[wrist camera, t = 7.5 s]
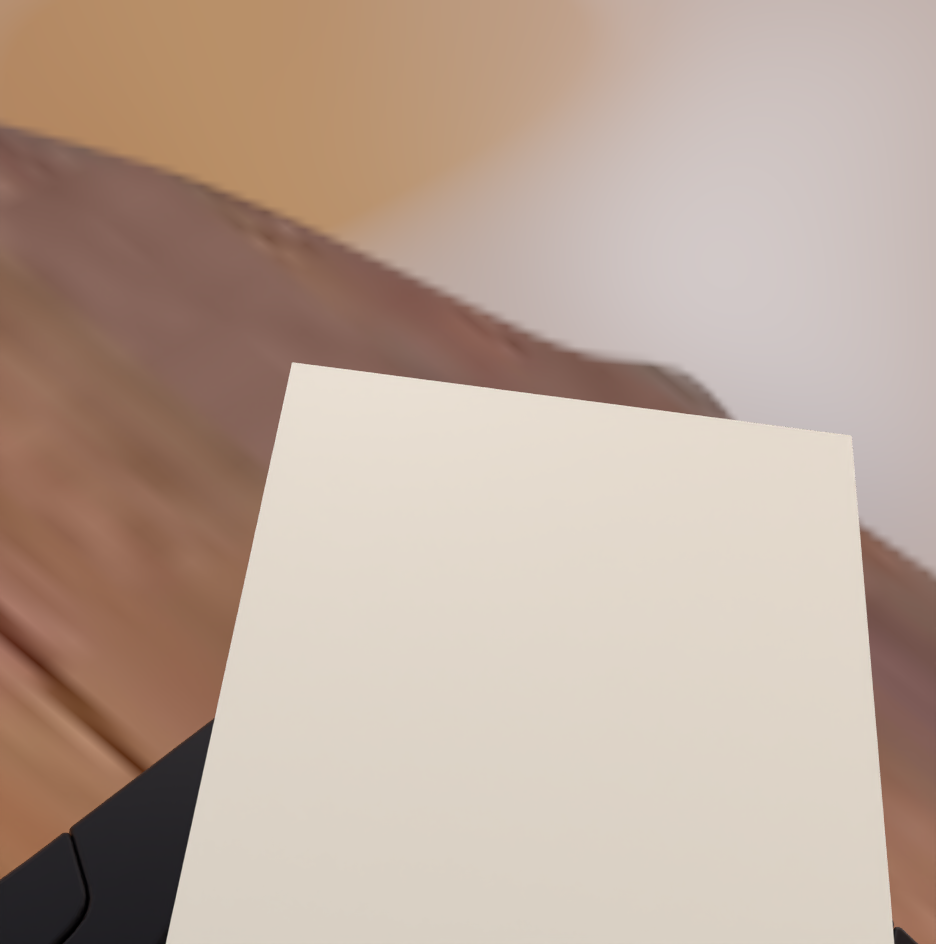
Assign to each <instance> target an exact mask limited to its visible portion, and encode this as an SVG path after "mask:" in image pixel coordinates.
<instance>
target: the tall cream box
mask: <svg viewBox="0 0 936 944" xmlns="http://www.w3.org/2000/svg"><path fill="white" fill-rule="evenodd" d="M166 944H894V935H893V923H892V911H891V900H890V888H889V876H888V864H887V852H886V840H885V828H884V816H883V804H882V792H881V780H880V768H879V757H878V745H877V733H876V721H875V709H874V697H873V685H872V673H871V661H870V649H869V637H868V626H867V614H866V602H865V590H864V578H863V566H862V554H861V542H860V530H859V518H858V507H857V495H856V483H855V471H854V459H853V447H852V436H851V435H843V434H835V433H827V432H820V431H812V430H805V429H796V428H789V427H781V426H774V425H767V424H758V423H751V422H743V421H736V420H728V419H721V418H713V417H705V416H698V415H690V414H682V413H675V412H667V411H660V410H652V409H644V408H637V407H629V406H621V405H614V404H606V403H598V402H591V401H583V400H575V399H568V398H560V397H553V396H545V395H537V394H530V393H522V392H514V391H507V390H499V389H491V388H484V387H476V386H468V385H461V384H453V383H446V382H438V381H430V380H423V379H415V378H407V377H400V376H392V375H384V374H377V373H369V372H361V371H354V370H346V369H338V368H331V367H323V366H316V365H308V364H300V363H293V362H292V366H291V371H290V375H289V380H288V384H287V389H286V394H285V398H284V403H283V407H282V412H281V417H280V421H279V426H278V430H277V435H276V440H275V444H274V449H273V453H272V458H271V463H270V467H269V472H268V476H267V481H266V485H265V490H264V495H263V499H262V504H261V508H260V513H259V518H258V522H257V527H256V531H255V536H254V541H253V545H252V550H251V554H250V559H249V564H248V568H247V573H246V577H245V582H244V587H243V591H242V596H241V600H240V605H239V610H238V614H237V619H236V623H235V628H234V633H233V637H232V642H231V646H230V651H229V656H228V660H227V665H226V669H225V674H224V678H223V683H222V688H221V692H220V697H219V701H218V706H217V711H216V715H215V720H214V724H213V729H212V734H211V738H210V743H209V747H208V752H207V757H206V761H205V766H204V770H203V775H202V780H201V784H200V789H199V793H198V798H197V803H196V807H195V812H194V816H193V821H192V826H191V830H190V835H189V839H188V844H187V848H186V853H185V858H184V862H183V867H182V871H181V876H180V881H179V885H178V890H177V894H176V899H175V904H174V908H173V913H172V917H171V922H170V927H169V931H168V936H167V940H166Z"/></svg>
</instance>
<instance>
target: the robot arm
mask: <svg viewBox="0 0 936 944" xmlns="http://www.w3.org/2000/svg"><path fill="white" fill-rule="evenodd" d="M214 720H215V718H214V719H213V720H211V721H210V722H209V723H207V724H206V725H205V726H203V727H202V728H201V729H199V730H198V731H197V732H196V733H194V734H193V735H192V736H190V737H189V738H188V739H186V740H185V741H184V742H182V743H181V744H180V745H178V746H177V747H176V748H174V749H173V750H172V751H171V752H169V753H168V754H167V755H165V756H164V757H163V758H161V759H160V760H159V761H157V762H156V763H155V764H153V765H152V766H151V767H150V768H148V769H147V770H146V771H144V772H143V773H142V774H140V775H139V776H138V777H136V778H135V779H134V780H132V781H131V782H130V783H128V784H127V785H126V786H125V787H123V788H122V789H121V790H119V791H118V792H117V793H115V794H114V795H113V796H111V797H110V798H109V799H107V800H106V801H105V802H104V803H102V804H101V805H100V806H98V807H97V808H96V809H94V810H93V811H92V812H90V813H89V814H88V815H86V816H85V817H84V818H83V819H81V820H80V821H79V822H77V823H76V824H75V825H73V826H72V827H71V828H70V831H69V833H62V834H61V835H60V836H58V837H57V838H56V839H54V840H53V841H52V842H50V843H49V844H48V845H46V846H45V847H44V848H43V849H41V850H40V851H39V852H37V853H36V854H35V855H33V856H32V857H31V858H29V859H28V860H27V861H25V862H24V863H22V864H21V865H20V866H18V867H17V868H15V869H14V870H13V871H11V872H10V873H9V874H7V875H6V876H4V877H3V878H2V879H0V944H166V940H167V936H168V931H169V927H170V922H171V917H172V913H173V908H174V904H175V899H176V894H177V890H178V885H179V881H180V876H181V871H182V867H183V862H184V858H185V853H186V848H187V844H188V839H189V835H190V830H191V826H192V821H193V816H194V812H195V807H196V803H197V798H198V793H199V789H200V784H201V780H202V775H203V770H204V766H205V761H206V757H207V752H208V747H209V743H210V738H211V734H212V729H213V724H214ZM892 923H893V928H894V922H893V920H892ZM893 935H894V944H918V943H917V942H915V941H914V940H913V939H912V938H911V937H910V936H909V935H908V934H907V933H906V932H905V931H904V930H903V929H902V928H900V927H895V928H894V929H893Z"/></svg>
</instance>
